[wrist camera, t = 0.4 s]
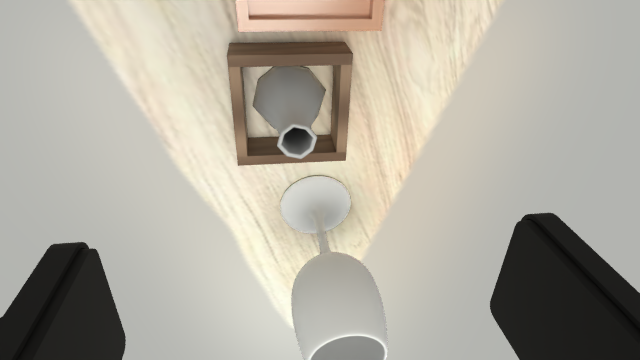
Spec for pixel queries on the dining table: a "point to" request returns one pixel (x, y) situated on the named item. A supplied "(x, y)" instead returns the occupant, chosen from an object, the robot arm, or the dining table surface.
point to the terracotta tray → (309, 15)
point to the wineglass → (332, 281)
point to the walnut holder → (291, 55)
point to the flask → (290, 106)
